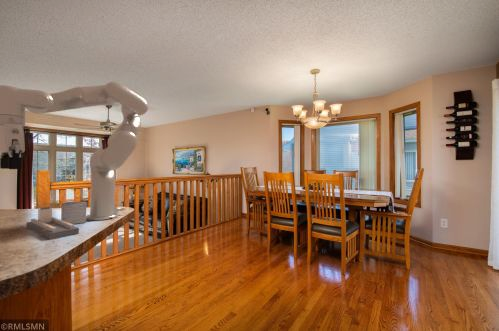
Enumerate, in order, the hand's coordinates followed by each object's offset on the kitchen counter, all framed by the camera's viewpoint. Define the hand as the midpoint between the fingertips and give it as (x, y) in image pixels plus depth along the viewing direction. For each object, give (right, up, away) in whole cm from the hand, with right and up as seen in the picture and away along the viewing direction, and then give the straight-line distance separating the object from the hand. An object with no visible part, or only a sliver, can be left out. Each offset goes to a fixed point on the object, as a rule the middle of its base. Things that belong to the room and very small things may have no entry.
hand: (10, 168), depth 82 cm
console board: (+14, -23, +1) cm, 27 cm away
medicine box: (+14, -23, +12) cm, 29 cm away
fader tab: (+8, -21, +5) cm, 23 cm away
